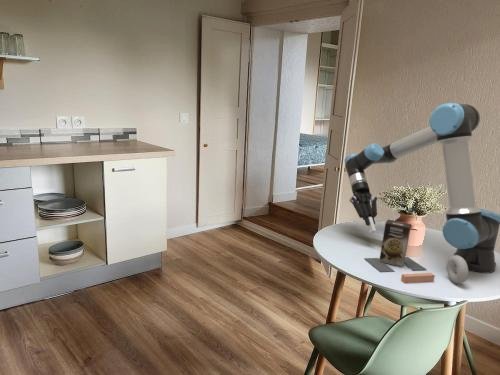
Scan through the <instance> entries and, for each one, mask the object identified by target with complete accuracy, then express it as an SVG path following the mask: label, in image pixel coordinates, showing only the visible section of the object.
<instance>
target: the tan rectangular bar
mask: <svg viewBox="0 0 500 375" xmlns="http://www.w3.org/2000/svg"><path fill="white" fill-rule="evenodd" d="M400 281H401V282H402V283H403V284H414V283H416V284H417V283H431V282H432V283H433V282H434V281H435V274H434V273H432V272H424V273H423V272H422V273H421V272H419V273H418V272H417V273H402V274H401V278H400Z"/></svg>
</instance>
